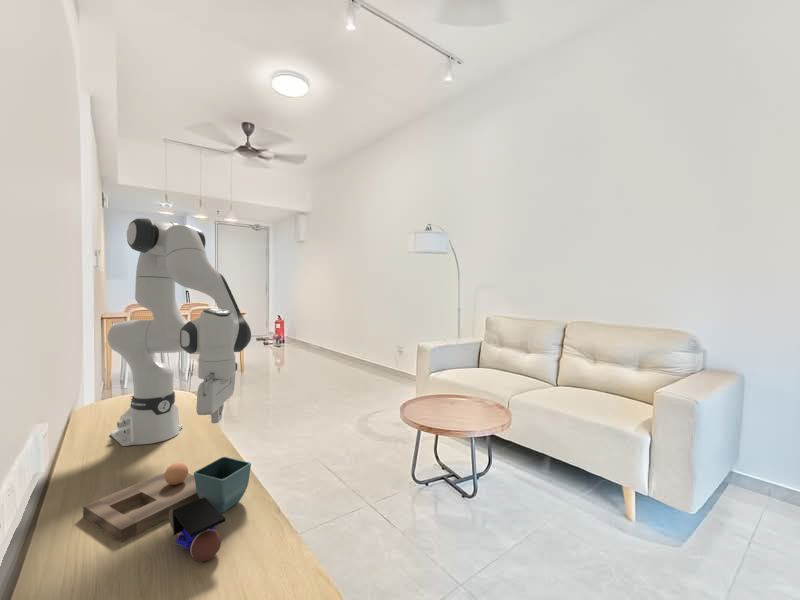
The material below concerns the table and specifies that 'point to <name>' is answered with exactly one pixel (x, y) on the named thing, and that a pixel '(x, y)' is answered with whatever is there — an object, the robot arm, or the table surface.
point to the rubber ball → (176, 473)
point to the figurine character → (197, 528)
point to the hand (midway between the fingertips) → (216, 421)
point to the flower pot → (223, 482)
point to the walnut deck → (156, 509)
